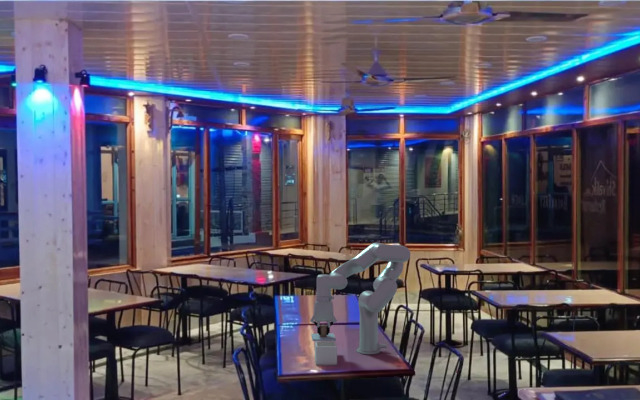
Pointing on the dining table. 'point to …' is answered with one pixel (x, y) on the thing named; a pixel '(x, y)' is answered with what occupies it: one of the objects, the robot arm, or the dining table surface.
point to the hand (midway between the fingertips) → (323, 334)
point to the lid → (323, 335)
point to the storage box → (326, 353)
